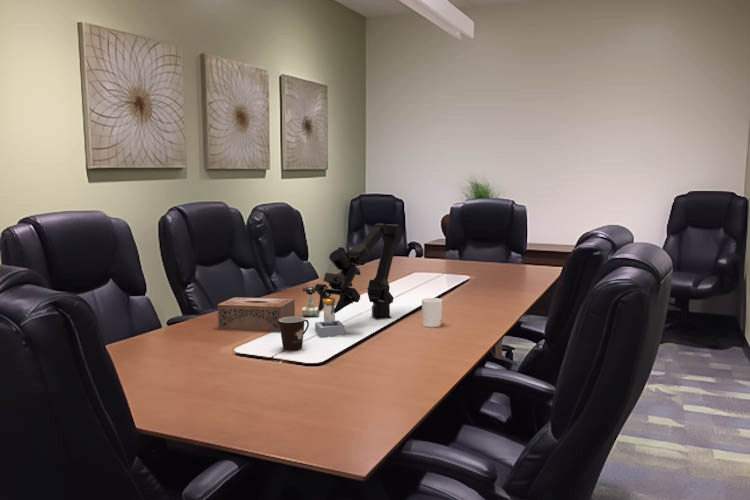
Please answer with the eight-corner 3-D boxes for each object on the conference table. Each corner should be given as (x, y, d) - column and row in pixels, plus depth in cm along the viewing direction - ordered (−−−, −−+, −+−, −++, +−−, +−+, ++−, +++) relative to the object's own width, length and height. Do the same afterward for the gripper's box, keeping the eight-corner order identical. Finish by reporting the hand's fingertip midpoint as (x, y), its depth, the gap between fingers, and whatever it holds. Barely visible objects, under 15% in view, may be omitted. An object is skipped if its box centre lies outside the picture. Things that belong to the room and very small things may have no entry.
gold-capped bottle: (331, 331, 226) (330, 297, 225) (338, 333, 223) (337, 298, 221) (321, 333, 224) (320, 298, 222) (328, 335, 220) (327, 300, 218)
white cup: (444, 323, 235) (444, 298, 234) (438, 328, 228) (438, 302, 227) (425, 322, 238) (425, 297, 237) (418, 326, 231) (418, 301, 230)
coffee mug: (284, 353, 198) (283, 323, 197) (276, 347, 206) (275, 318, 204) (317, 348, 203) (316, 319, 202) (308, 342, 211) (307, 314, 210)
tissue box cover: (295, 323, 240) (294, 299, 239) (281, 333, 226) (280, 306, 225) (235, 321, 246) (234, 297, 244) (218, 330, 232) (217, 304, 230)
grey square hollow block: (338, 329, 229) (338, 320, 228) (344, 335, 220) (344, 325, 220) (315, 331, 226) (315, 322, 226) (320, 337, 218) (320, 327, 217)
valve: (316, 318, 247) (315, 289, 246) (300, 318, 249) (300, 289, 247) (320, 315, 254) (320, 286, 252) (305, 314, 255) (305, 286, 254)
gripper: (316, 262, 229) (297, 295, 222) (354, 266, 218) (335, 301, 210) (331, 280, 236) (312, 312, 229) (368, 284, 225) (350, 319, 217)
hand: (326, 311), depth 221 cm, fingers open, 7 cm apart
